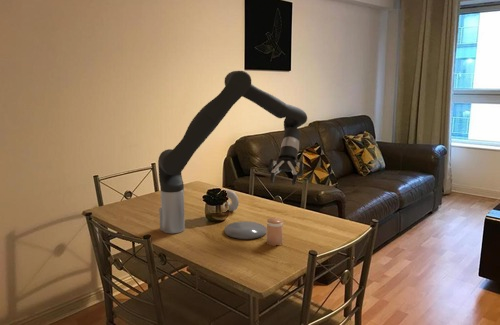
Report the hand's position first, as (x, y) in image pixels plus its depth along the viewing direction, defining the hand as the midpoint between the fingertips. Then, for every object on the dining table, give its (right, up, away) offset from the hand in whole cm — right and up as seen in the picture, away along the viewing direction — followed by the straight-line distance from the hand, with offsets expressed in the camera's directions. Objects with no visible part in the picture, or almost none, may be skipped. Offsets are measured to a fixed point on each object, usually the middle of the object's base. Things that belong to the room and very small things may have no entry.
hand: (282, 183), depth 167 cm
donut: (-22, -15, +30) cm, 40 cm away
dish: (-15, -20, +4) cm, 25 cm away
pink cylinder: (-4, -23, -7) cm, 24 cm away
